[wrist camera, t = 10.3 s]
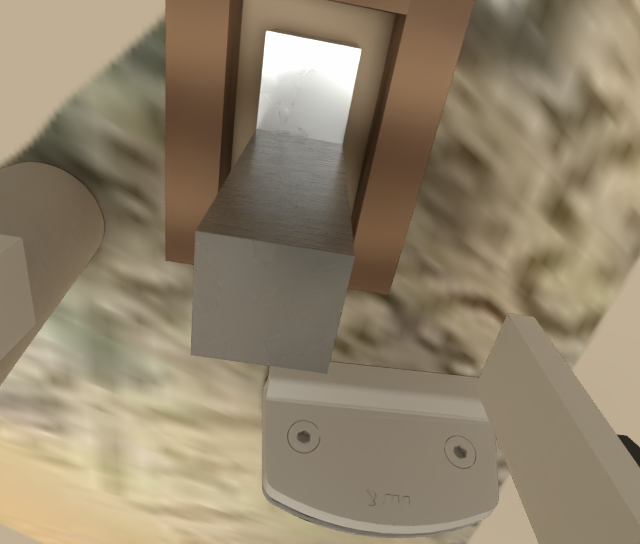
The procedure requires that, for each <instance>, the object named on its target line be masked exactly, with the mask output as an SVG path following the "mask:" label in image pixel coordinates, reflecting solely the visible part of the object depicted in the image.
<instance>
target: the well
mask: <svg viewBox="0 0 640 544" xmlns="http://www.w3.org/2000/svg"><path fill="white" fill-rule="evenodd" d="M474 2H475V0H166V261H172V262H179V263H185V264H192V265H194V255H195V231H196V229H197V227H198V226H199V224H200V222H201V221H202V219H203V217H204V216H205V214H206V212H207V211H208V209H209V207H210V206H211V204H212V202H213V201H214V199H215V197H216V196H217V194H218V192H219V191H220V189H221V187H222V186H223V184H224V182H225V181H226V179H227V177H228V176H229V174H230V172H231V171H232V169H233V167H234V166H235V164H236V162H237V161H238V159H239V157H240V156H241V154H242V152H243V151H244V149H245V147H246V146H247V144H248V142H249V140H250V139H251V137H252V135H253V134H254V132H255V130H256V128H257V118H258V108H259V98H260V88H261V78H262V68H263V58H264V48H265V37H266V31H267V30H270V29H273V28H275V29H280V30H285V31H290V32H296V33H301V34H306V35H311V36H316V37H321V38H327V39H332V40H337V41H342V42H347V43H352V44H357V45H358V46H359V47H360V48H361V53H360V59H359V64H358V69H357V74H356V79H355V84H354V89H353V94H352V99H351V105H350V110H349V115H348V120H347V125H346V130H345V135H344V140H343V151H344V160H345V169H346V178H347V187H348V197H349V206H350V215H351V224H352V233H353V242H354V251H355V258H354V263H353V267H352V271H351V275H350V279H349V284H348V289H355V290H361V291H368V292H374V293H381V294H387V295H389V292H390V288H391V285H392V282H393V278H394V275H395V271H396V268H397V265H398V261H399V258H400V254H401V251H402V248H403V244H404V241H405V237H406V234H407V231H408V227H409V224H410V220H411V217H412V214H413V210H414V207H415V203H416V200H417V197H418V193H419V190H420V186H421V183H422V179H423V176H424V173H425V169H426V166H427V162H428V159H429V156H430V152H431V149H432V145H433V142H434V139H435V135H436V132H437V128H438V125H439V122H440V118H441V115H442V111H443V108H444V105H445V101H446V98H447V94H448V91H449V88H450V84H451V81H452V77H453V74H454V71H455V67H456V64H457V60H458V57H459V54H460V50H461V47H462V43H463V40H464V37H465V33H466V30H467V26H468V23H469V20H470V16H471V13H472V9H473V6H474Z"/></svg>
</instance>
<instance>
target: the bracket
mask: <svg viewBox="0 0 640 544" xmlns="http://www.w3.org/2000/svg"><path fill="white" fill-rule="evenodd" d="M360 53H361V48H360V47H359V46H358V45H357V44H352V43H347V42H342V41H337V40H332V39H327V38H321V37H316V36H311V35H306V34H301V33H296V32H290V31H285V30H280V29H275V28H273V29H270V30H267V31H266V37H265V48H264V58H263V68H262V78H261V88H260V98H259V108H258V118H257V128H256V130H255V132H254V134H253V135H252V137H251V139H250V140H249V142H248V144H247V146H246V147H245V149H244V151H243V152H242V154H241V156H240V157H239V159H238V161H237V162H236V164H235V166H234V167H233V169H232V171H231V172H230V174H229V176H228V177H227V179H226V181H225V182H224V184H223V186H222V187H221V189H220V191H219V192H218V194H217V196H216V197H215V199H214V201H213V202H212V204H211V206H210V207H209V209H208V211H207V212H206V214H205V216H204V217H203V219H202V221H201V222H200V224H199V226H198V227H197V229H196V231H195V255H194V282H193V309H192V336H191V355H195V356H202V357H209V358H216V359H224V360H231V361H238V362H245V363H252V364H259V365H266V366H274V367H281V368H288V369H295V370H302V371H309V372H316V373H324V374H327V372H328V368H329V363H330V359H331V355H332V351H333V347H334V342H335V338H336V334H337V330H338V326H339V321H340V317H341V313H342V309H343V305H344V300H345V296H346V292H347V288H348V284H349V279H350V275H351V271H352V267H353V263H354V258H355V251H354V242H353V233H352V224H351V215H350V206H349V197H348V187H347V178H346V169H345V160H344V151H343V140H344V135H345V130H346V125H347V120H348V115H349V110H350V105H351V99H352V94H353V89H354V84H355V79H356V74H357V69H358V64H359V59H360Z"/></svg>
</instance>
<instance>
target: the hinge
mask: <svg viewBox="0 0 640 544" xmlns="http://www.w3.org/2000/svg"><path fill="white" fill-rule="evenodd" d="M478 379H479V378H478V377H469V376H459V375H450V374H441V373H431V372H422V371H412V370H403V369H394V368H384V367H375V366H365V365H356V364H347V363H337V362H330V363H329V368H328V372H327V374H324V373H316V372H309V371H302V370H295V369H288V368H281V367H274V366H270V367H269V374H268V379H267V381H266V383H265V386H264V388H263V406H262V490H263V494H264V496H265V497H266V499H267V500H268V501H269V502H270V503H271V504H273V505H275V506H277V507H279V508H280V509H282V510H284V511H286V512H288V513H290V514H292V515H295V516H297V517H299V518H301V519H304V520H306V521H309V522H312V523H314V524H317V525H320V526H323V527H327V528H330V529H334V530H338V531H342V532H347V533H351V534H356V535H363V536H370V537H382V538H411V537H424V536H431V535H436V534H441V533H446V532H451V531H455V530H458V529H461V528H464V527H467V526H470V525H473V524H476V523H478V522H480V521H481V520H482V519H485V518H487V517H488V516H490V514H491V513H492V512H493V510H494V509H495V507H496V506H497V504H498V501H499V488H498V472H497V456H496V441H495V434H494V432H493V429H492V427H491V424H490V422H489V419H488V417H487V414H486V412H485V410H484V407H483V405H482V402H481V400H480V397H479V395H478V392H477V390H476V387H475V386H476V384H477V381H478Z"/></svg>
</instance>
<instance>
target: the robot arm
mask: <svg viewBox="0 0 640 544" xmlns="http://www.w3.org/2000/svg"><path fill="white" fill-rule="evenodd" d="M35 324H36V321H35V315H34V308H33V302H32V296H31V290H30V283H29V277H28V271H27V265H26V258H25V252H24V246H23V240H22V238H21V237H14V236H8V235H2V234H0V361H1V360H2V359H3V357H4V356H5V355H6V354H7V353H8V352H9V351H10V350H11V349H12V348H13V347H14V346H15V345H16V344H17V343H18V342H19V341H20V340H21V339H22V338H23V337H24V336H25V335H26V334H27V333H28V332H29V331H30V330H31V329H32V327H33V326H34V325H35ZM475 387H476V390H477V392H478V395H479V397H480V400H481V402H482V405H483V407H484V410H485V412H486V414H487V417H488V419H489V422H490V424H491V427H492V429H493V432H494V434H495V437H496V439H497V442H498V444H499V447H500V449H501V451H502V454H503V456H504V459H505V461H506V464H507V466H508V469H509V471H510V474H511V476H512V479H513V481H514V484H515V486H516V488H517V491H518V493H519V496H520V498H521V501H522V503H523V506H524V508H525V511H526V513H527V516H528V518H529V520H530V523H531V525H532V528H533V530H534V533H535V535H536V538H537V540H538V543H539V544H640V447H639V446H638V445H637V444H635V443H634V442H633V441H632V440H631V439H630V438H629V437H628V436H624V435H617V434H616V433H615V432H614V430H613V429H612V427H611V426H610V425H609V423H608V422H607V420H606V419H605V418H604V416H603V415H602V413H601V412H600V410H599V409H598V407H597V406H596V405H595V403H594V402H593V400H592V399H591V397H590V396H589V395H588V393H587V392H586V390H585V389H584V387H583V386H582V385H581V383H580V382H579V380H578V379H577V377H576V376H575V375H574V373H573V372H572V370H571V369H570V367H569V366H568V365H567V363H566V362H565V360H564V359H563V357H562V356H561V355H560V353H559V352H558V350H557V349H556V347H555V346H554V345H553V343H552V342H551V340H550V339H549V337H548V336H547V335H546V333H545V332H544V330H543V329H542V328H541V326H540V325H539V323H538V322H537V320H536V319H535V318H534V317H530V316H524V315H517V314H511V313H508V314H507V316H506V319H505V321H504V323H503V325H502V328H501V330H500V332H499V334H498V337H497V339H496V341H495V343H494V346H493V348H492V350H491V352H490V355H489V357H488V359H487V361H486V364H485V366H484V368H483V370H482V372H481V375H480V377H479V379H478V381H477V384H476V386H475Z"/></svg>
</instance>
